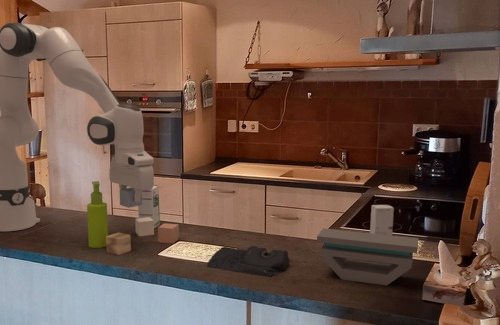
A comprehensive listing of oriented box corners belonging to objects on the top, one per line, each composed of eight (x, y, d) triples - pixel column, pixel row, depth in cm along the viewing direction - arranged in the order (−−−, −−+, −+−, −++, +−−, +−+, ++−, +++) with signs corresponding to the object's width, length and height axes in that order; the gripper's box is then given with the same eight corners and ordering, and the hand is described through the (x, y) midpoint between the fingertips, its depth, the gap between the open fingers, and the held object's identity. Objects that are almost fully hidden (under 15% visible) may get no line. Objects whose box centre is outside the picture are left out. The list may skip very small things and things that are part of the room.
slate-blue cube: (119, 204, 158) (119, 189, 157) (133, 202, 161) (133, 187, 161) (128, 207, 154) (128, 191, 154) (142, 205, 158) (141, 189, 157)
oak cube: (106, 252, 150) (106, 236, 149) (119, 247, 154) (118, 232, 153) (118, 255, 147) (118, 239, 146) (130, 250, 151) (130, 234, 151)
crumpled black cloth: (225, 251, 152) (224, 236, 151) (294, 261, 144) (294, 245, 143) (202, 268, 138) (201, 252, 137) (277, 280, 130) (277, 262, 129)
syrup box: (154, 229, 174) (153, 188, 172) (138, 228, 175) (137, 187, 173) (160, 224, 179) (159, 185, 177) (144, 223, 181) (143, 184, 178)
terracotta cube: (158, 242, 160) (157, 227, 159) (164, 238, 164) (164, 223, 164) (172, 243, 158) (172, 228, 158) (178, 239, 163) (178, 224, 162)
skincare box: (374, 245, 158) (375, 208, 156) (369, 241, 162) (370, 204, 160) (392, 244, 158) (394, 207, 157) (387, 240, 163) (388, 204, 161)
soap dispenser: (106, 240, 161) (104, 179, 158) (109, 246, 155) (107, 183, 152) (87, 242, 159) (85, 180, 156) (89, 248, 153) (86, 184, 150)
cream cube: (135, 232, 170) (135, 218, 169) (150, 231, 172) (149, 217, 171) (139, 236, 166) (138, 222, 165) (153, 234, 168) (153, 220, 167)
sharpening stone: (316, 275, 132) (317, 236, 131) (322, 265, 139) (323, 228, 138) (414, 289, 124) (417, 247, 122) (416, 278, 131) (418, 238, 129)
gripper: (103, 154, 160) (105, 196, 163) (139, 161, 146) (140, 207, 149) (120, 152, 165) (122, 193, 167) (157, 159, 151) (158, 203, 153)
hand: (131, 199), depth 158 cm, fingers closed on slate-blue cube, 5 cm apart
